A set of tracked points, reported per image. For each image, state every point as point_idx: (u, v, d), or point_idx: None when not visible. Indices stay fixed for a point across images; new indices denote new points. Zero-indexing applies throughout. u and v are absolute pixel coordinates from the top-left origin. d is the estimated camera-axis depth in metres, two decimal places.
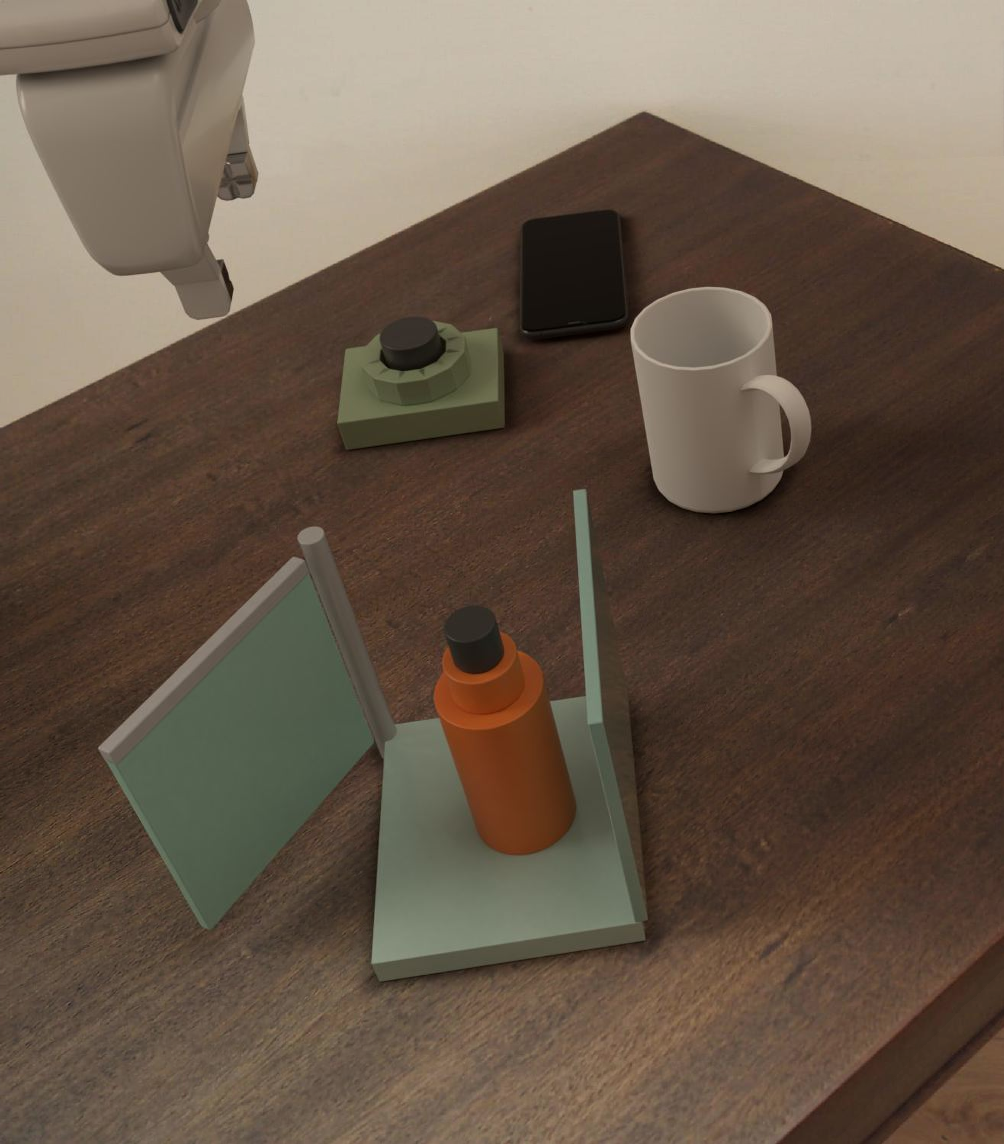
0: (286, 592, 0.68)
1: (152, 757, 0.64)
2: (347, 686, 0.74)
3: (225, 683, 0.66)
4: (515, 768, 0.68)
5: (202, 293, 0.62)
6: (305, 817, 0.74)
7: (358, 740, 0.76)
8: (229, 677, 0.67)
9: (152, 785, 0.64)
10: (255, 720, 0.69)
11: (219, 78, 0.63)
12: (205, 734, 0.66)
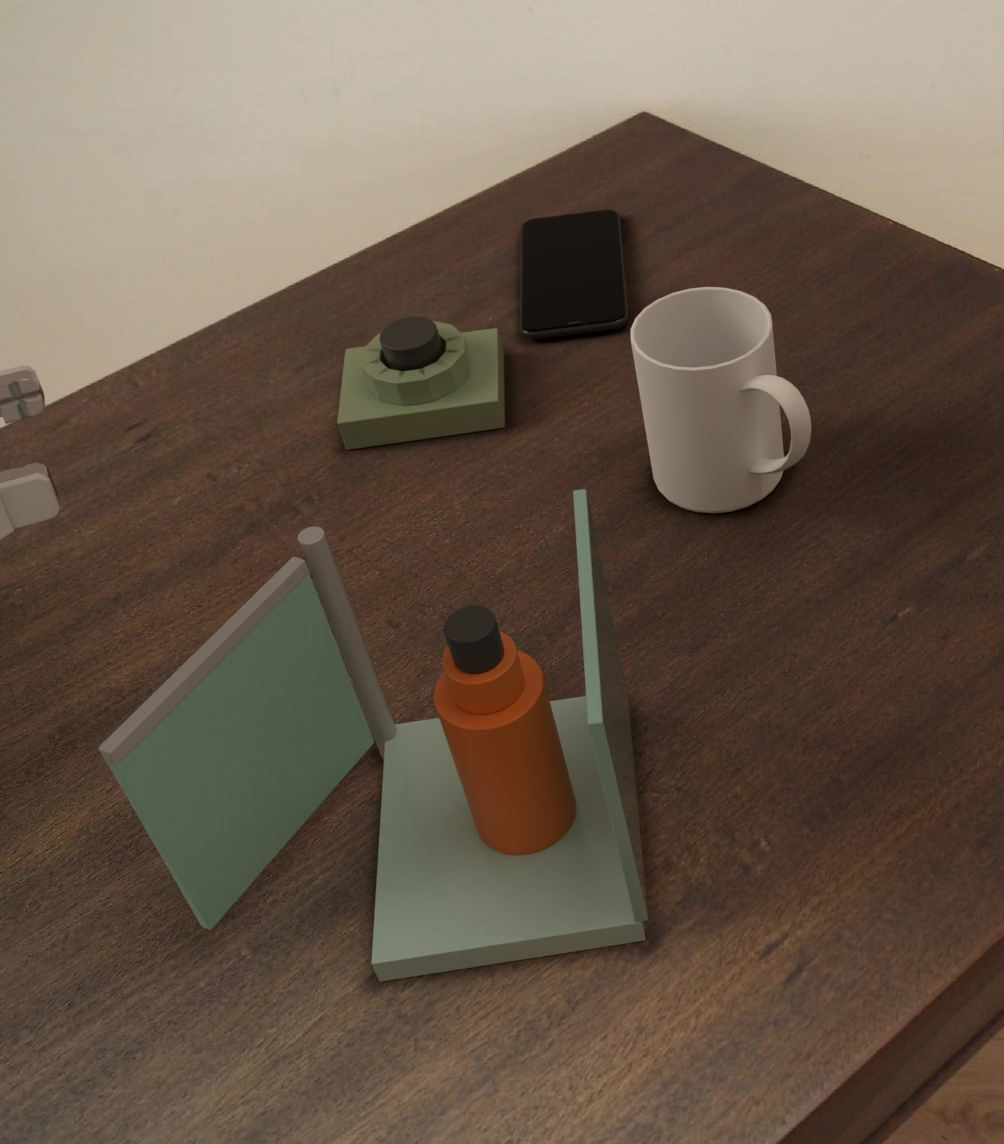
0: (286, 592, 0.68)
1: (152, 757, 0.64)
2: (347, 686, 0.74)
3: (225, 683, 0.66)
4: (515, 768, 0.68)
5: None
6: (305, 817, 0.74)
7: (358, 740, 0.76)
8: (229, 677, 0.67)
9: (152, 785, 0.64)
10: (255, 720, 0.69)
11: None
12: (205, 734, 0.66)
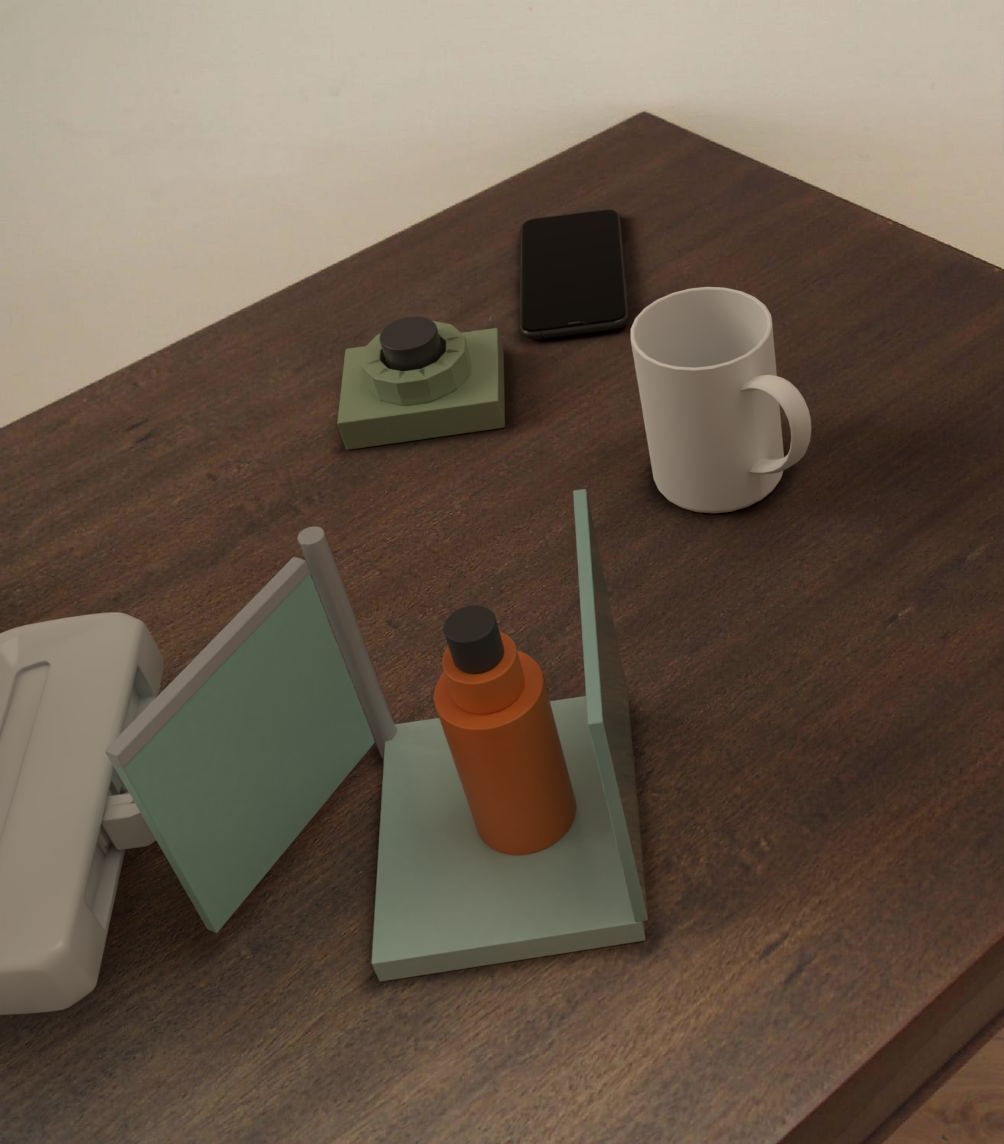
0: (287, 592, 0.68)
1: (158, 760, 0.64)
2: (348, 686, 0.74)
3: (229, 684, 0.66)
4: (515, 768, 0.68)
5: None
6: (308, 818, 0.74)
7: (359, 740, 0.76)
8: (233, 678, 0.67)
9: (158, 788, 0.64)
10: (258, 721, 0.69)
11: None
12: (210, 736, 0.66)
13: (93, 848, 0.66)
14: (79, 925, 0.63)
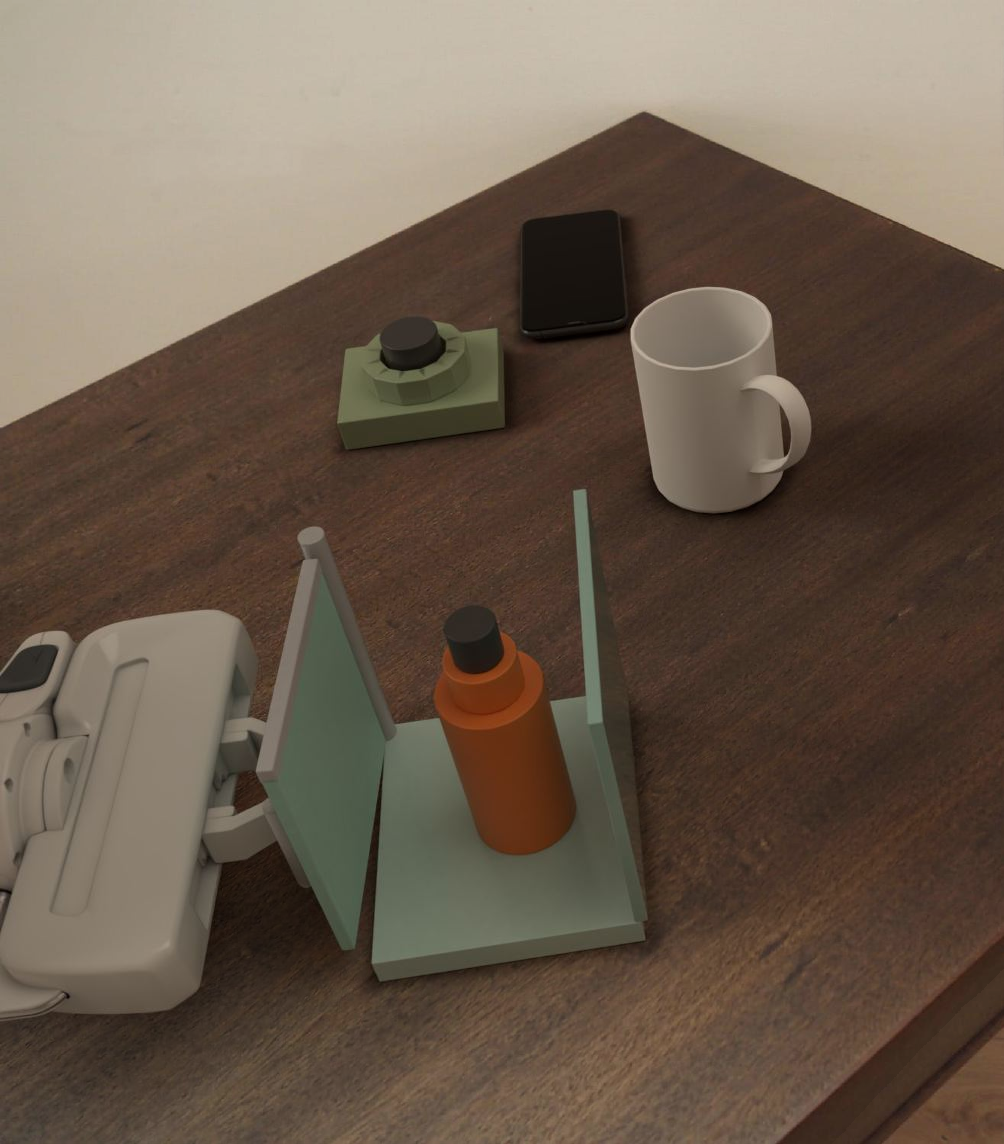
0: (316, 592, 0.68)
1: (291, 772, 0.63)
2: (362, 685, 0.74)
3: (308, 689, 0.66)
4: (515, 768, 0.68)
5: None
6: (372, 823, 0.74)
7: (379, 740, 0.76)
8: (309, 683, 0.66)
9: (297, 801, 0.63)
10: (329, 726, 0.68)
11: None
12: (310, 744, 0.65)
13: (197, 848, 0.65)
14: (185, 926, 0.63)
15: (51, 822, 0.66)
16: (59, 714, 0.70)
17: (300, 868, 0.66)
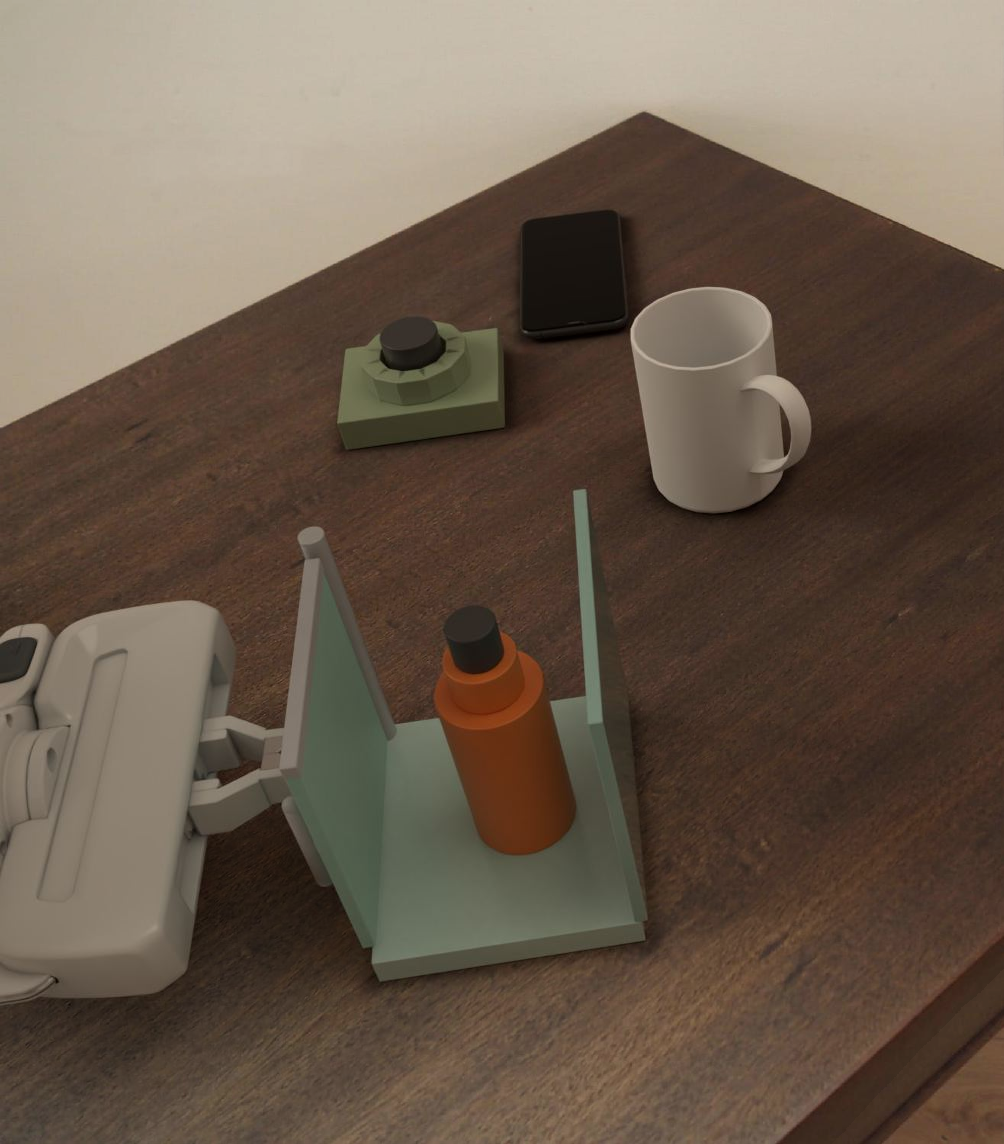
0: (320, 591, 0.68)
1: (312, 769, 0.63)
2: (364, 684, 0.74)
3: (320, 688, 0.66)
4: (515, 768, 0.68)
5: None
6: (381, 822, 0.74)
7: (381, 739, 0.76)
8: (320, 681, 0.66)
9: (319, 798, 0.63)
10: (340, 724, 0.68)
11: None
12: (326, 742, 0.65)
13: (181, 833, 0.66)
14: (171, 909, 0.64)
15: (35, 811, 0.67)
16: (40, 705, 0.71)
17: (320, 867, 0.66)
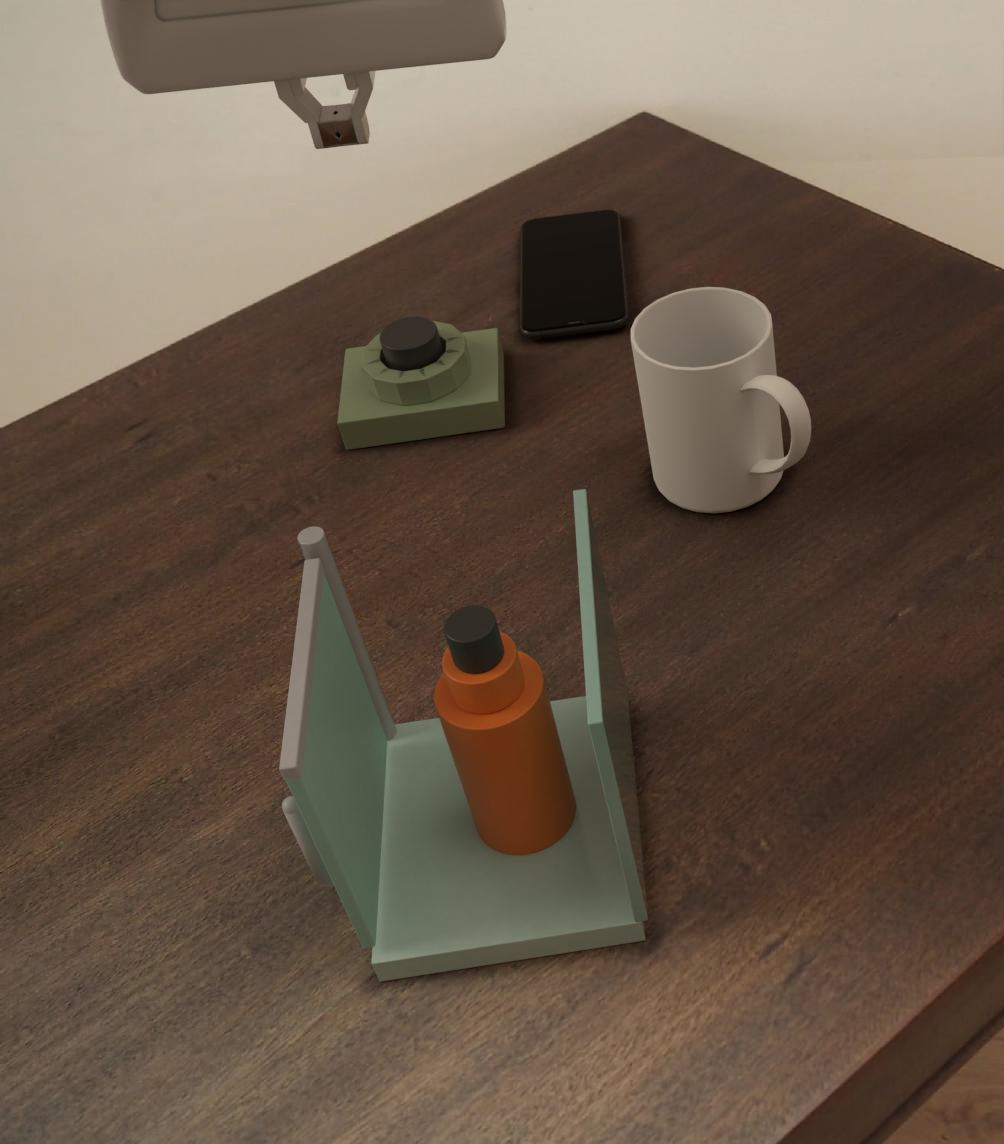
0: (320, 591, 0.68)
1: (312, 769, 0.63)
2: (364, 684, 0.74)
3: (320, 688, 0.66)
4: (515, 768, 0.68)
5: None
6: (381, 822, 0.74)
7: (381, 739, 0.76)
8: (320, 681, 0.66)
9: (319, 798, 0.63)
10: (340, 724, 0.68)
11: (324, 35, 0.81)
12: (326, 742, 0.65)
13: None
14: None
15: None
16: None
17: (320, 867, 0.66)
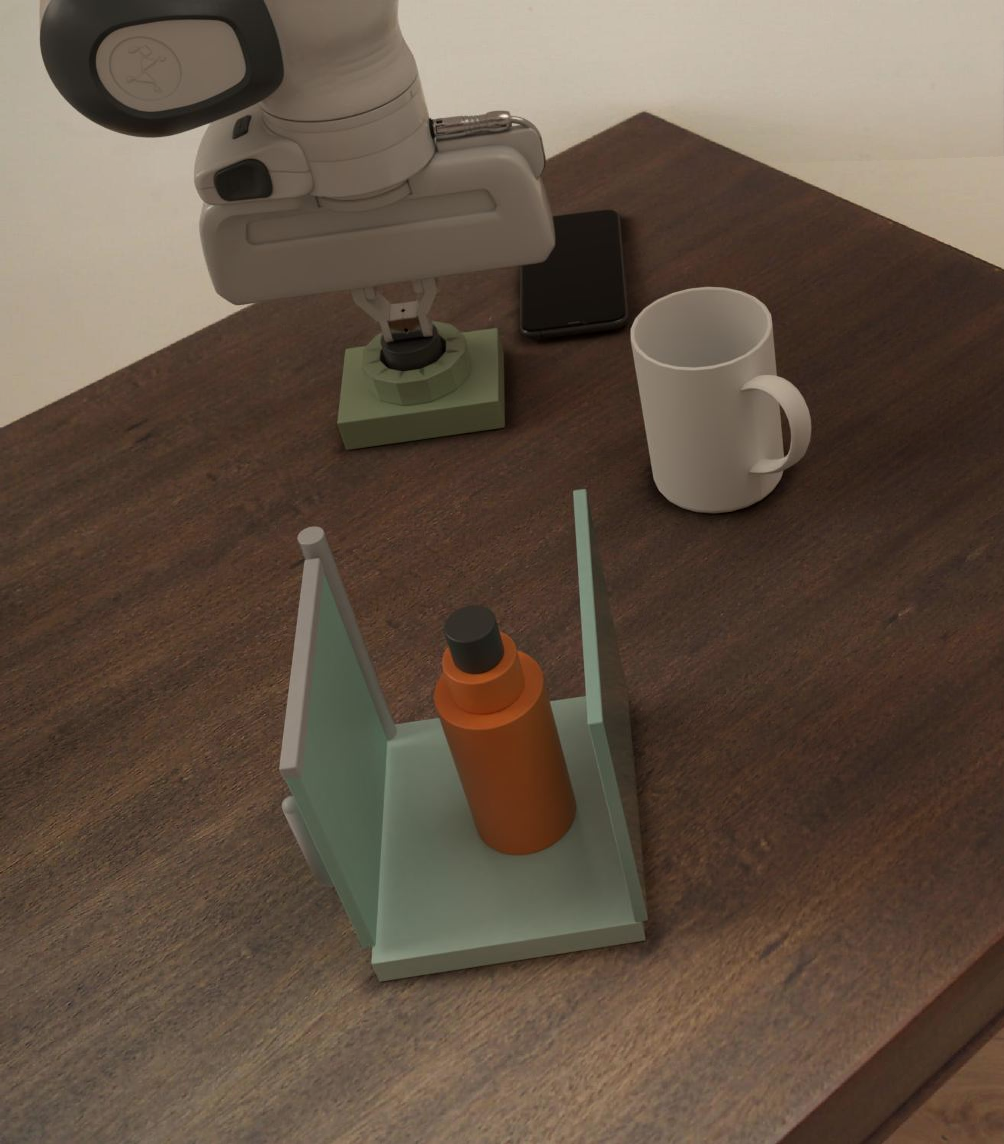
0: (320, 591, 0.68)
1: (312, 769, 0.63)
2: (364, 684, 0.74)
3: (320, 688, 0.66)
4: (515, 768, 0.68)
5: None
6: (381, 822, 0.74)
7: (381, 739, 0.76)
8: (320, 681, 0.66)
9: (319, 798, 0.63)
10: (340, 724, 0.68)
11: (395, 250, 0.91)
12: (326, 742, 0.65)
13: None
14: None
15: None
16: None
17: (320, 867, 0.66)
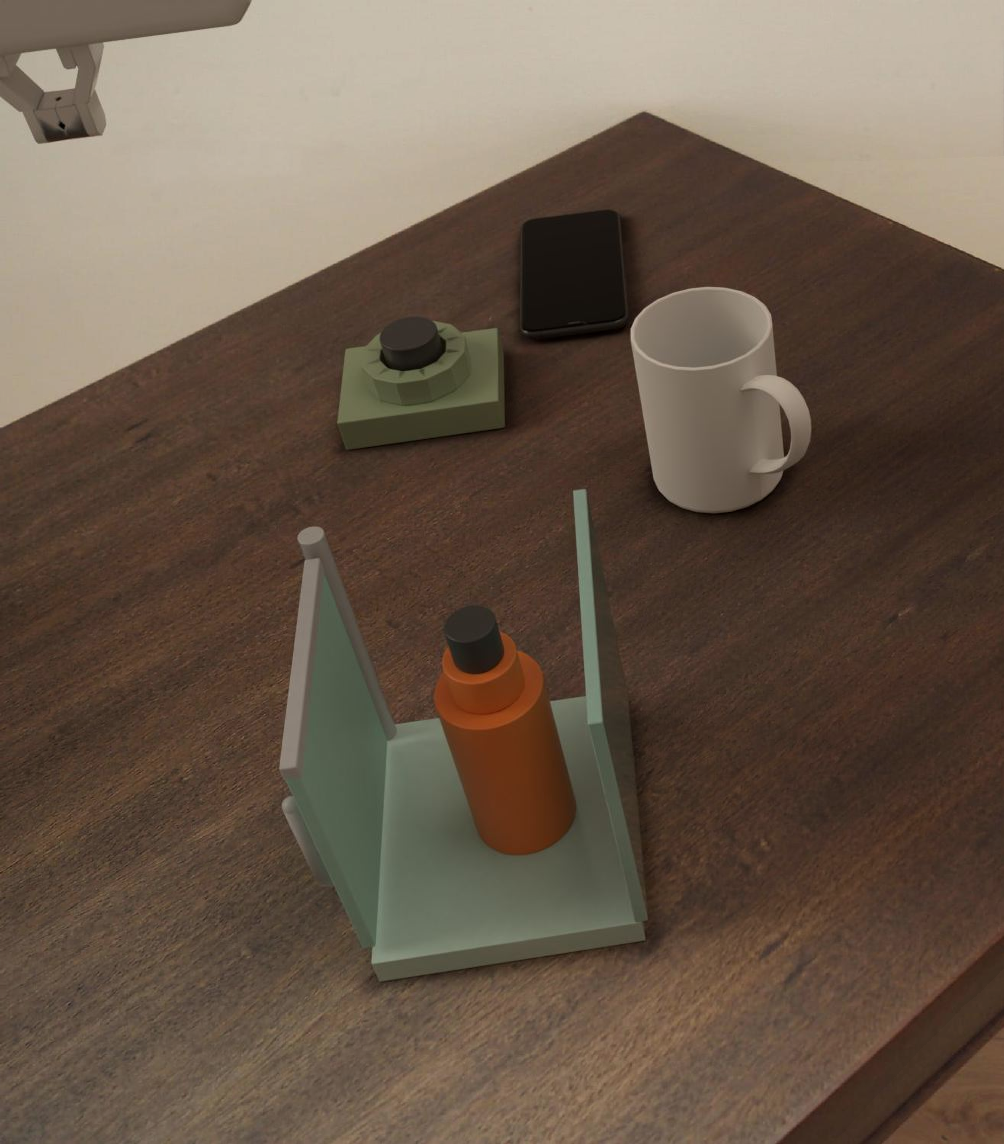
0: (320, 591, 0.68)
1: (312, 769, 0.63)
2: (364, 684, 0.74)
3: (320, 688, 0.66)
4: (515, 768, 0.68)
5: None
6: (381, 822, 0.74)
7: (381, 739, 0.76)
8: (320, 681, 0.66)
9: (319, 798, 0.63)
10: (340, 724, 0.68)
11: (22, 0, 0.66)
12: (326, 742, 0.65)
13: None
14: None
15: None
16: None
17: (320, 867, 0.66)
